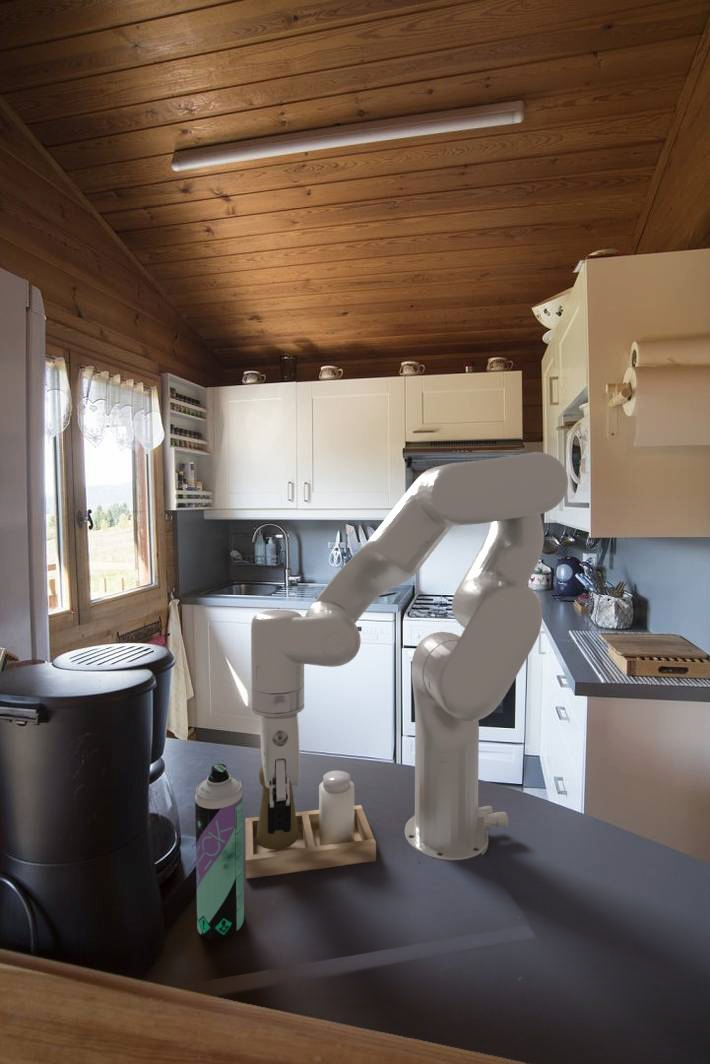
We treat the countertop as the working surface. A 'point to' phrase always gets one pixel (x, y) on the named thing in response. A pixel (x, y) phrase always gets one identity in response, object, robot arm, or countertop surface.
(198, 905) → the spray can
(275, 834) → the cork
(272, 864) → the caddy
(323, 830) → the salt shaker
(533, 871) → the countertop surface
